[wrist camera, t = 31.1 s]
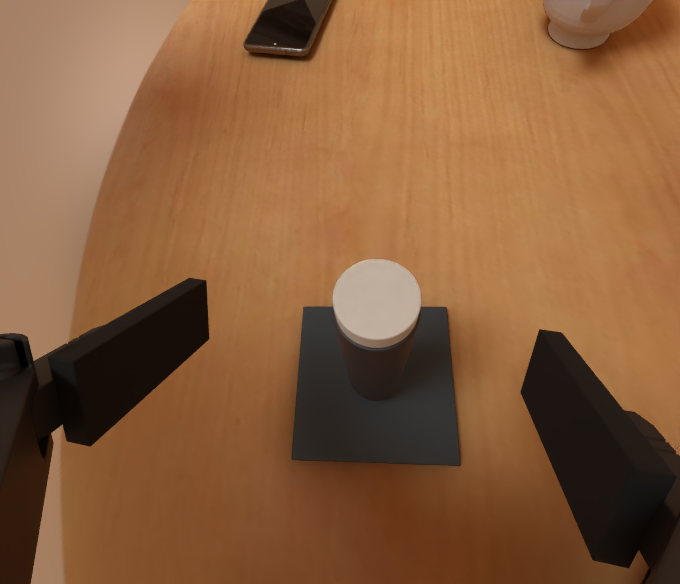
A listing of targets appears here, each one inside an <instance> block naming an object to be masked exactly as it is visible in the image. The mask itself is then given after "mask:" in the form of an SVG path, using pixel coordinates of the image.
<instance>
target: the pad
mask: <svg viewBox="0 0 680 584" xmlns="http://www.w3.org/2000/svg"><path fill="white" fill-rule="evenodd" d="M332 308H333V307H304V308H303V321H302V333H301V346H300V358H299V371H298V383H297V396H296V408H295V421H294V433H293V446H292V458H291V459H292V460H310V461H338V462H366V463H393V464H421V465H449V466H460V465H461V463H460V452H459V441H458V430H457V419H456V408H455V396H454V385H453V374H452V363H451V352H450V341H449V330H448V318H447V308H446V307H421V318H420V322H419V325H418V329H417V332H416V335H415V338H414V341H413V344H412V347H411V350H410V353H409V356H408V360H407V363H406V366H405V369H404V372H403V375H402V378H401V381H400V384H399V386H398V388H397V390H396V391H395V392H394V393H393V394H392V395H391V396H389V397H387V398H385V399H383V400H379V401H371V400H368V399H365V398H363V397H362V396H360V395H359V394H358V393H357V392H356V391H355V390H354V389H353V387H352V386H351V383H350V380H349V377H348V373H347V369H346V365H345V362H344V358H343V354H342V350H341V346H340V343H339V339H338V335H337V331H336V327H335V324H334V320H333V314H332Z"/></svg>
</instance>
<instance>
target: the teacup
mask: <svg viewBox="0 0 680 584" xmlns="http://www.w3.org/2000/svg"><path fill="white" fill-rule="evenodd" d="M652 1H653V0H543V5H544V9H545V12H546V14H547V16H548V17H549V18H550V20H551V21H550V23H549V26H548V32H549V34H550V36H551V37H552V38H553V40H555V41H556V42H557V43H559V44H561V45H563V46H566V47H570V48H574V49H589V48H593V47H596V46H599V45H601V44H602V43H604V42H605V41H606V40H607V38H608V37H609V35H610V33H612V32H615V31H618V30H620V29H622V28H624V27H626V26H627V25H629V24H630V23H632V22H633V21H634V20H636V19H637V18H638V17H639V16H640V15H641V14H642V13H643V12H644V11H645V9H646V8H647V7H648V6H649V5H650V3H651V2H652Z"/></svg>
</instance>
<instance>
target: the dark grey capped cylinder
mask: <svg viewBox="0 0 680 584" xmlns="http://www.w3.org/2000/svg"><path fill="white" fill-rule="evenodd" d="M332 298H333V308H332V314H333V320H334V324H335V327H336V331H337V335H338V339H339V343H340V346H341V350H342V354H343V358H344V362H345V365H346V369H347V373H348V377H349V380H350V383H351V386H352V387H353V389H354V390H355V391H356V392H357V393H358V394H359V395H360V396H362V397H363V398H365V399H368V400H371V401H379V400H383V399H385V398H387V397H389V396H391V395H392V394H393V393H394V392H395V391H396V390H397V388H398V386H399V384H400V381H401V378H402V375H403V372H404V369H405V366H406V363H407V360H408V356H409V353H410V350H411V347H412V344H413V341H414V338H415V335H416V332H417V329H418V325H419V322H420V318H421V303H422V297H421V291H420V287H419V285H418V283H417V281H416V279H415V278H414V277H413V275H412V274H411V273H410V272H409V271H408V270H407V269H406V268H404V267H403V266H401V265H399V264H398V263H395V262H393V261H389V260H385V259H369V260H364V261H361V262H358V263H356V264H354V265H353V266H351V267H349V268H348V269H347V270H346V271H345V272H344V273H343V274H342V275H341V276H340V278H339V279H338V281H337V282H336V285H335V287H334V291H333V297H332Z"/></svg>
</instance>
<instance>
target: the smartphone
mask: <svg viewBox="0 0 680 584" xmlns="http://www.w3.org/2000/svg"><path fill="white" fill-rule="evenodd" d="M331 2H332V0H267V2H266V4H265V6H264V7H263V9H262V11H261V13H260V14H259V16H258V18H257V20H256V21H255V23H254V25H253V27H252V28H251V30H250V32H249V34H248V35H247V37H246V39H245V41H244V43H243V45H244V48H245V50H247V51H249V52H257V53H268V54H280V55H291V56H305V55H307V54H308V53H309V51H310V49H311V47H312V45H313V42H314V40H315V38H316V36H317V33H318V31H319V29H320V27H321V25H322V22H323V20H324V18H325V16H326V13H327V11H328V9H329V7H330V4H331Z"/></svg>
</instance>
